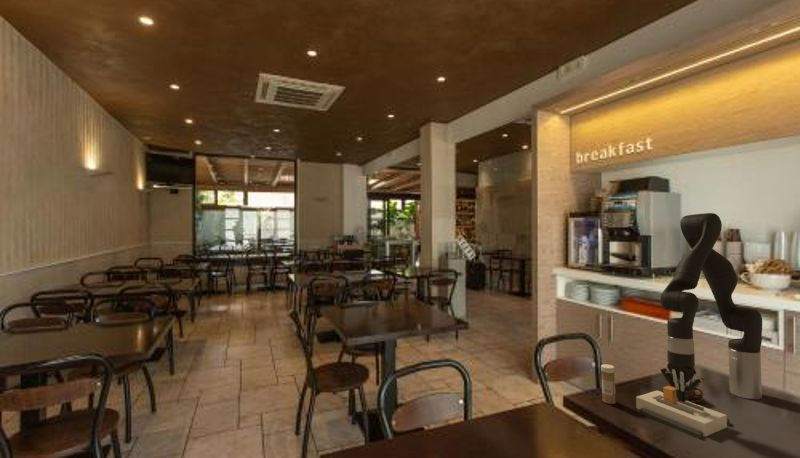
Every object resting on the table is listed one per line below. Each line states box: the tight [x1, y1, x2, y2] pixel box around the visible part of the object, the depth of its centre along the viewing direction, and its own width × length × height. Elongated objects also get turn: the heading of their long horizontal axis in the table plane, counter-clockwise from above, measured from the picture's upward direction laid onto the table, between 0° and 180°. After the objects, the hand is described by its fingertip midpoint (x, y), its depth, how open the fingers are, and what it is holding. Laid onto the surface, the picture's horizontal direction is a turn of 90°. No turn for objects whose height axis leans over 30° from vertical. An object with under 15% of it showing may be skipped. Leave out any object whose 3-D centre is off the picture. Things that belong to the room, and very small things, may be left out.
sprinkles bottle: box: [600, 363, 616, 405], centre depth 146 cm, size 5×5×13 cm
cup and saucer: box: [670, 380, 704, 404], centre depth 147 cm, size 12×12×6 cm
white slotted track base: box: [638, 408, 731, 440], centre depth 132 cm, size 19×20×1 cm
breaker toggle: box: [662, 385, 678, 404], centre depth 136 cm, size 3×3×5 cm
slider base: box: [635, 390, 728, 437], centre depth 133 cm, size 12×22×5 cm, turn 25°
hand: (682, 400), depth 132 cm, fingers closed
